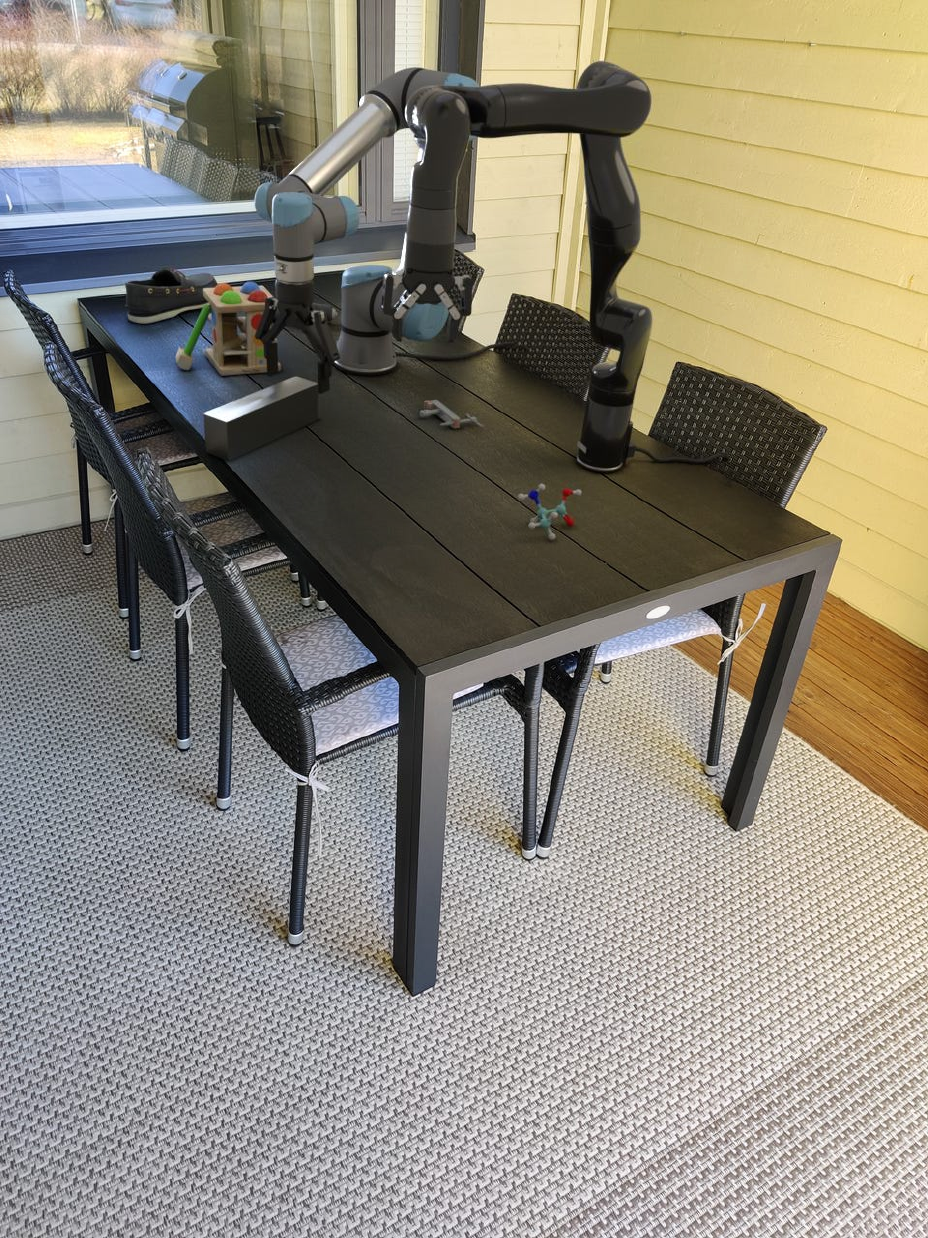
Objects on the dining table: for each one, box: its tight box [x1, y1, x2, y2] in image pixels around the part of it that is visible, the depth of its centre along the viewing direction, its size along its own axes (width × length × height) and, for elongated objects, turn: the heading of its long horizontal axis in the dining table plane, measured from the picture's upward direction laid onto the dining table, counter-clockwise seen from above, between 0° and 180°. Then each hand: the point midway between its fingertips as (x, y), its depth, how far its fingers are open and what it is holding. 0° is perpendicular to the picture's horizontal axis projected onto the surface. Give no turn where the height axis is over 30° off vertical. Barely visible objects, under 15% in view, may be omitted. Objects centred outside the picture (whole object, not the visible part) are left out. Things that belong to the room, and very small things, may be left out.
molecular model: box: [517, 483, 582, 541], centre depth 175 cm, size 12×10×10 cm
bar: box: [202, 376, 319, 462], centre depth 198 cm, size 27×6×8 cm, turn 148°
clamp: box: [419, 399, 486, 430], centre depth 213 cm, size 15×2×10 cm
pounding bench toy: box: [174, 281, 282, 377], centre depth 225 cm, size 23×14×18 cm, turn 116°
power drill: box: [273, 302, 338, 323], centre depth 265 cm, size 5×19×20 cm
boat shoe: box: [124, 266, 218, 324], centre depth 259 cm, size 13×33×10 cm, turn 147°
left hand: (298, 383), depth 203 cm, fingers open, 13 cm apart
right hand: (424, 340), depth 159 cm, fingers open, 8 cm apart
